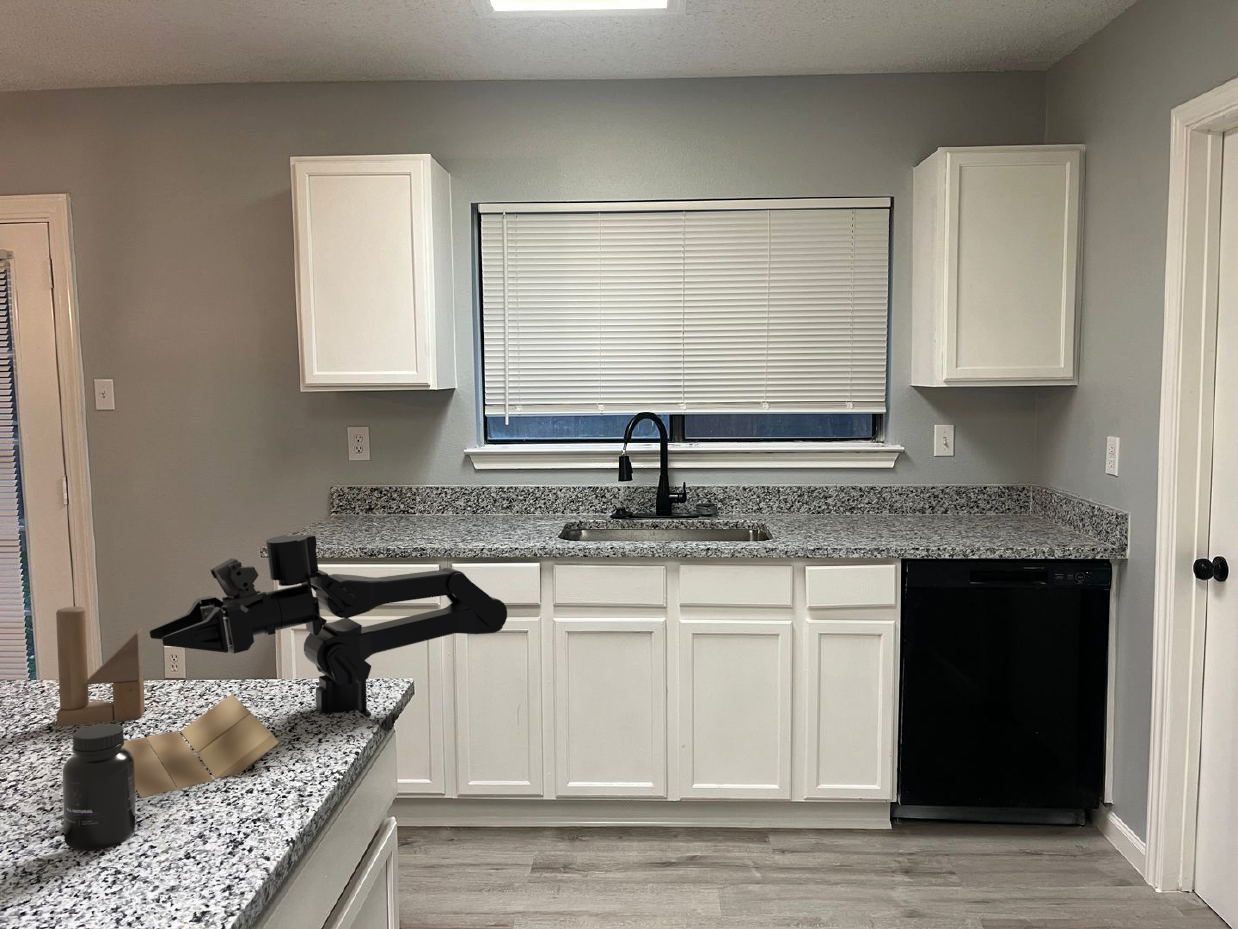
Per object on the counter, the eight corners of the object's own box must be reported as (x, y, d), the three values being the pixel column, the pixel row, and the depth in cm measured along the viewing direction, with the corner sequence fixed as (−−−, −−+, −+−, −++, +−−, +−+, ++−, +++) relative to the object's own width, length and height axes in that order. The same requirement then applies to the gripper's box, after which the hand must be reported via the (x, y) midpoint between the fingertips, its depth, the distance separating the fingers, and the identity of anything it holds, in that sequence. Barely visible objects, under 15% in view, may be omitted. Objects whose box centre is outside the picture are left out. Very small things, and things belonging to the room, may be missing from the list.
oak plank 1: (237, 701, 130) (231, 693, 129) (256, 720, 122) (250, 712, 122) (186, 739, 126) (180, 731, 125) (202, 760, 118) (196, 752, 118)
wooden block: (141, 728, 130) (137, 607, 129) (56, 737, 127) (51, 612, 125) (145, 719, 134) (141, 601, 132) (63, 728, 130) (58, 607, 129)
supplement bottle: (61, 858, 93) (57, 747, 92) (67, 830, 99) (63, 725, 98) (136, 843, 96) (132, 736, 96) (137, 817, 103) (133, 715, 102)
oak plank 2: (257, 721, 122) (251, 713, 121) (278, 742, 114) (272, 733, 114) (203, 762, 118) (197, 753, 117) (222, 786, 110) (215, 778, 110)
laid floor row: (177, 741, 125) (177, 730, 125) (214, 792, 109) (214, 780, 109) (113, 754, 121) (112, 743, 120) (141, 810, 104) (140, 797, 104)
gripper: (249, 554, 136) (134, 575, 126) (285, 557, 121) (159, 582, 111) (260, 625, 136) (147, 652, 127) (298, 638, 121) (173, 669, 112)
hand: (156, 638), depth 119 cm, fingers open, 9 cm apart
